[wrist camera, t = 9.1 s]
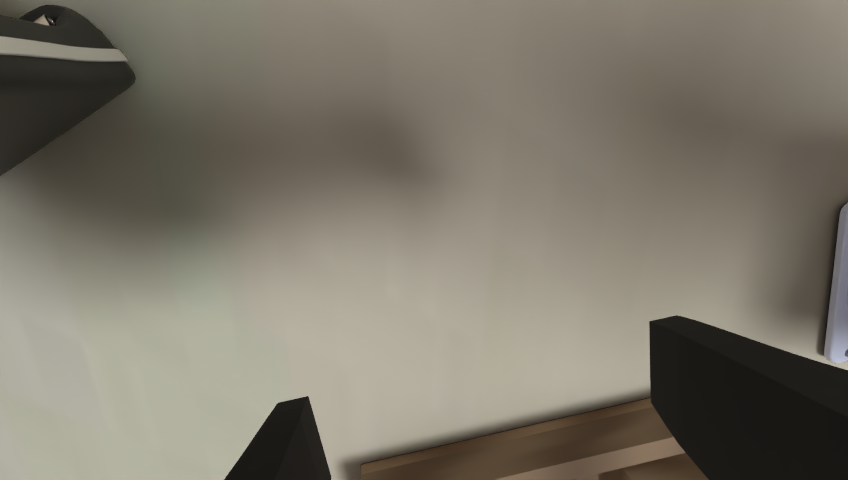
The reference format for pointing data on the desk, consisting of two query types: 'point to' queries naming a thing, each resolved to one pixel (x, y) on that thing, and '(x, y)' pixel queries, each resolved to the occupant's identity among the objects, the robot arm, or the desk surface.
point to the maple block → (665, 469)
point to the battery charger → (52, 78)
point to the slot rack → (544, 450)
